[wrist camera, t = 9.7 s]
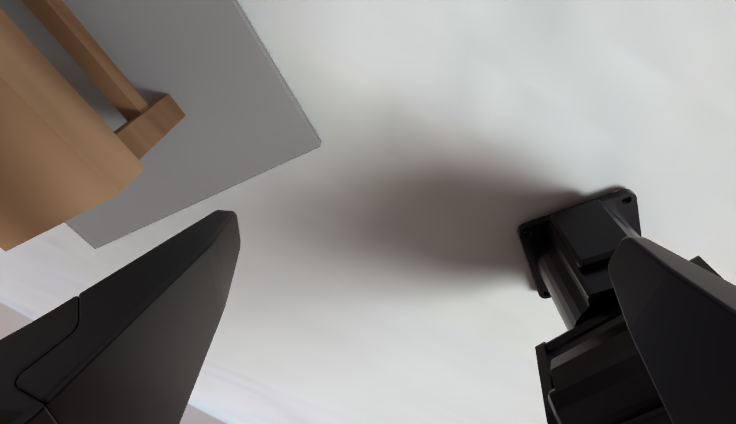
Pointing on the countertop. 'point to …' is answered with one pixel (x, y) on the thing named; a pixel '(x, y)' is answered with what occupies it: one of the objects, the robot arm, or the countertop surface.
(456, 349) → the countertop surface
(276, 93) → the mat
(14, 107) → the stool
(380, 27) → the countertop surface
